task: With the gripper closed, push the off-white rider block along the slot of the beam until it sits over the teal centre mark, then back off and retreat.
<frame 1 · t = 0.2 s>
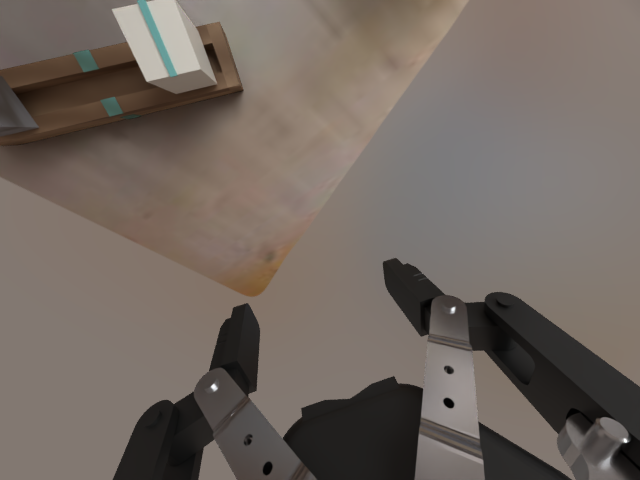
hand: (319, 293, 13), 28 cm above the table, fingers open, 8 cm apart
beam: (121, 91, 29), on the table
rider: (178, 56, 24), point 7 cm above the table, slide at 10.0 cm
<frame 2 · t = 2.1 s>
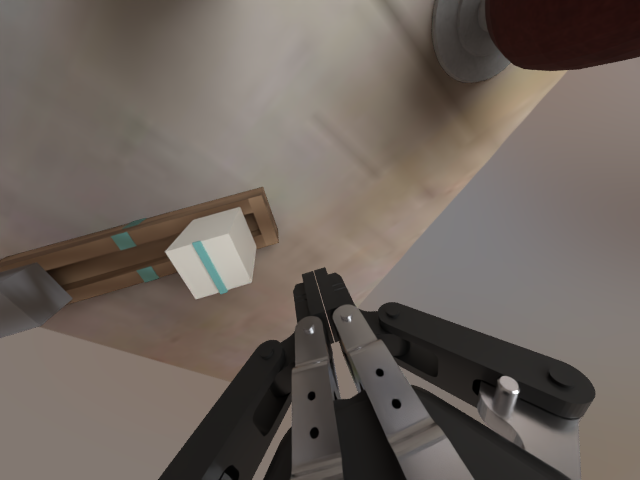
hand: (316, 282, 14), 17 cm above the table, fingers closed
beam: (153, 242, 28), on the table
rider: (221, 244, 23), point 7 cm above the table, slide at 10.0 cm
mate gourd: (479, 8, 24), on the table
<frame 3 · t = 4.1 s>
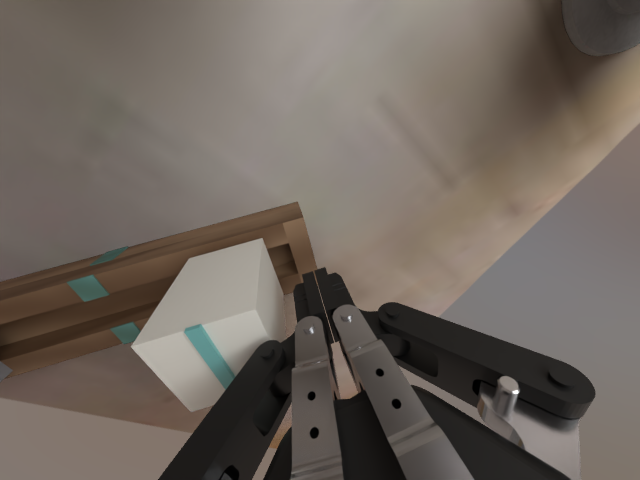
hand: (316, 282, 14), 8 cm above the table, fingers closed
beam: (139, 279, 20), on the table
rider: (234, 300, 14), point 7 cm above the table, slide at 9.4 cm, touching gripper
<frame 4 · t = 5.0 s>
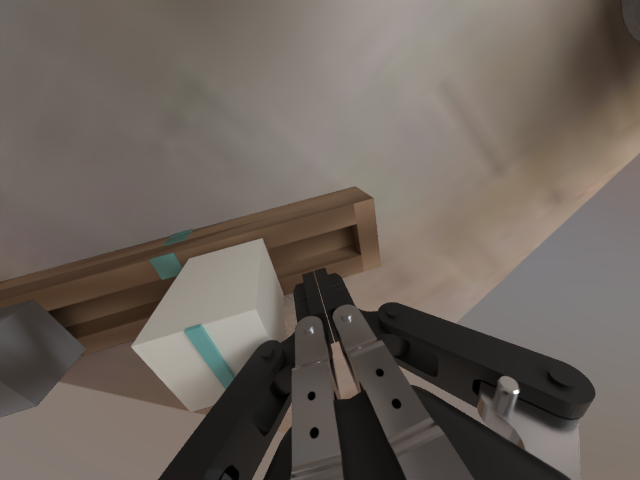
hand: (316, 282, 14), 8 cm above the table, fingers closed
beam: (199, 262, 20), on the table
rider: (234, 300, 14), point 7 cm above the table, slide at 4.2 cm, touching gripper
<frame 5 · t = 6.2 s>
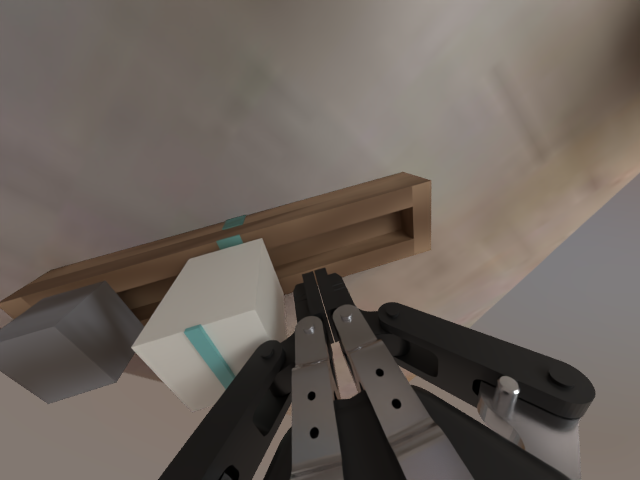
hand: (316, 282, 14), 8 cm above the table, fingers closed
beam: (249, 248, 20), on the table
rider: (234, 300, 14), point 7 cm above the table, slide at -0.3 cm, touching gripper
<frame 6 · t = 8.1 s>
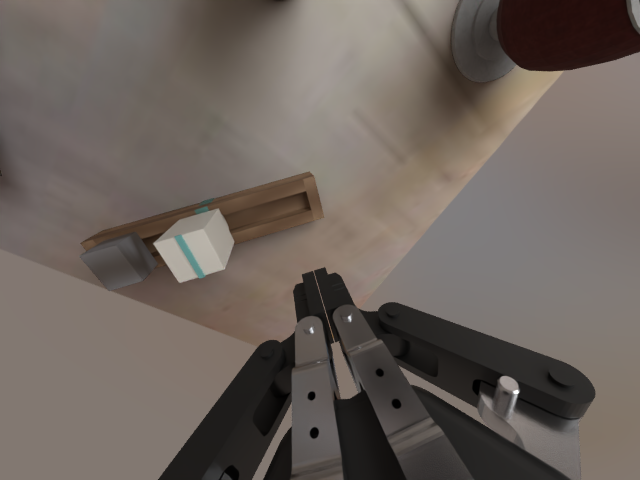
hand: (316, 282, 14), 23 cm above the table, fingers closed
beam: (218, 219, 34), on the table
rider: (202, 239, 27), point 7 cm above the table, slide at -0.4 cm
mate gourd: (489, 22, 30), on the table
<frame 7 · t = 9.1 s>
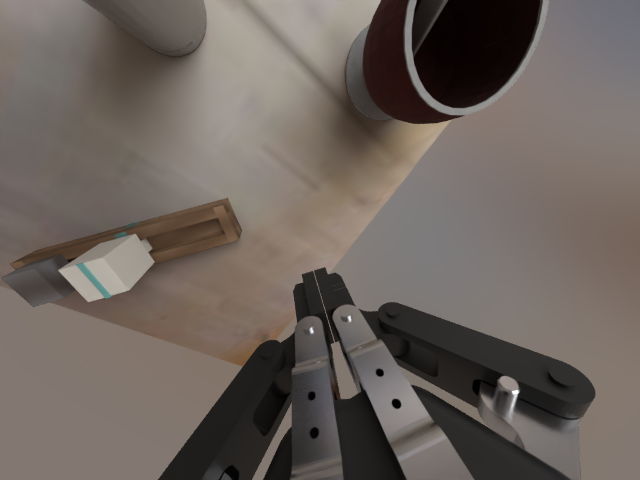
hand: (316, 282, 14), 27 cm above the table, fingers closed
beam: (145, 239, 37), on the table
rider: (117, 261, 31), point 7 cm above the table, slide at -0.4 cm
mate gourd: (381, 69, 33), on the table
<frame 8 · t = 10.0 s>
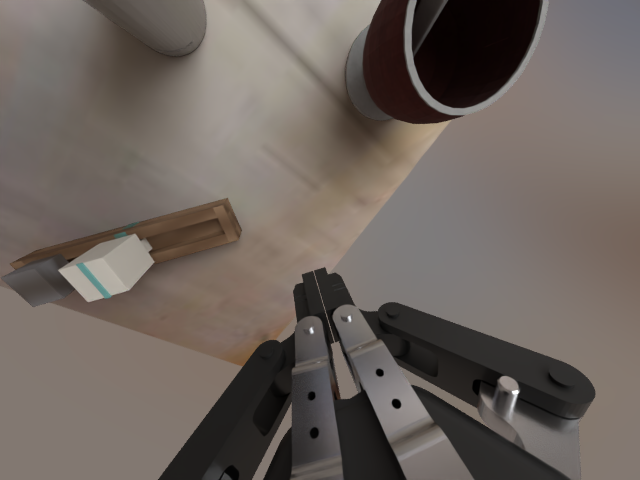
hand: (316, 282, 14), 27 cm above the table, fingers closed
beam: (145, 239, 37), on the table
rider: (117, 261, 31), point 7 cm above the table, slide at -0.4 cm
mate gourd: (380, 69, 33), on the table
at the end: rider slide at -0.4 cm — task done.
